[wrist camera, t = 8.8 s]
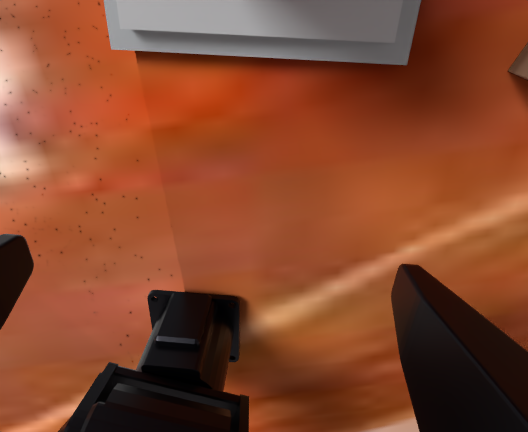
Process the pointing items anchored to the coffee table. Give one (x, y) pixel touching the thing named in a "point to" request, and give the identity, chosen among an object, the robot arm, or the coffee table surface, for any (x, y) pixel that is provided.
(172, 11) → the stand
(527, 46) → the metal block
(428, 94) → the coffee table surface
